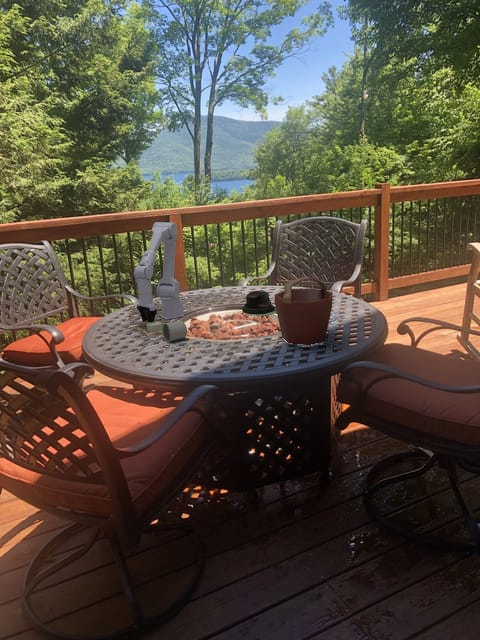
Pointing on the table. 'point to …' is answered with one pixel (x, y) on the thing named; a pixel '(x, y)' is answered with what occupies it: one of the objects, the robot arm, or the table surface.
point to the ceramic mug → (174, 331)
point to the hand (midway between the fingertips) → (148, 322)
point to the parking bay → (150, 333)
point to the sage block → (154, 326)
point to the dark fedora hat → (258, 304)
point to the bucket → (304, 312)
